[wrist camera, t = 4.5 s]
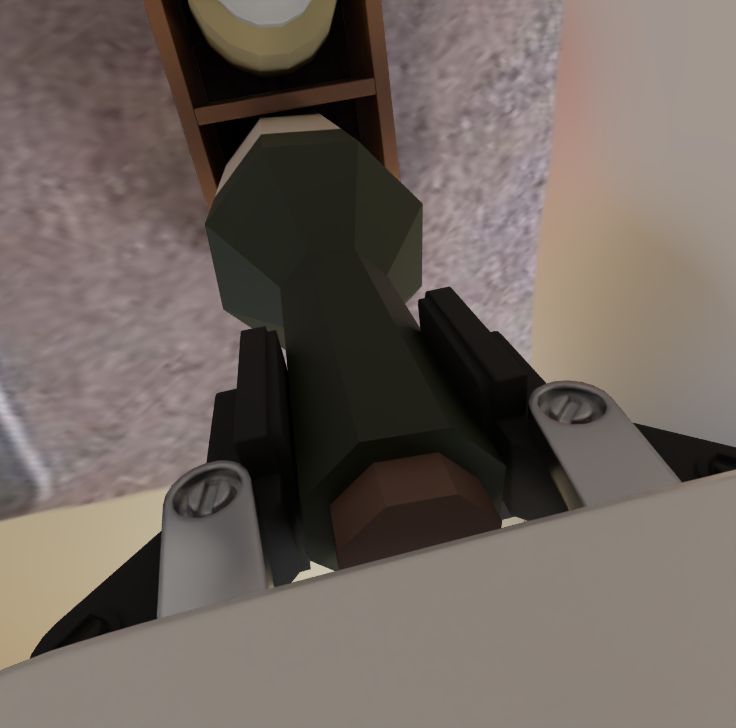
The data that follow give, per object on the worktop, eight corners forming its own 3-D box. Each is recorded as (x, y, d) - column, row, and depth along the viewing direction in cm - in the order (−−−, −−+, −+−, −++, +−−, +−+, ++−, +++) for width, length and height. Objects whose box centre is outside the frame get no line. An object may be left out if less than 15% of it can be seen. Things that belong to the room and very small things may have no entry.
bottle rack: (134, -109, 27) (89, -173, 20) (336, -137, 27) (359, -208, 21) (243, 266, 38) (238, 308, 31) (384, 238, 39) (410, 272, 32)
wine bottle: (244, 83, 29) (147, 155, 4) (374, 132, 32) (821, 370, 7) (216, 218, 33) (67, 725, 7) (335, 253, 35) (525, 712, 10)
